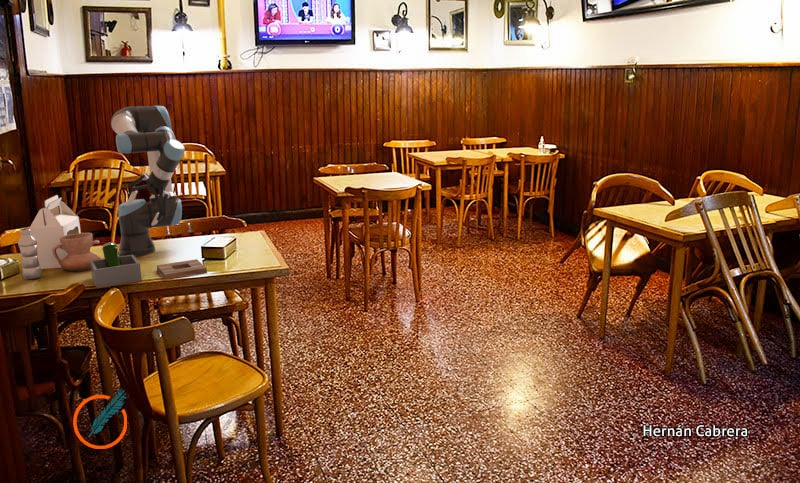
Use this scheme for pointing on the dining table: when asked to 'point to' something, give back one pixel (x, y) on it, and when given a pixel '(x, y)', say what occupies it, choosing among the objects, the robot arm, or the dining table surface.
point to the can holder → (181, 269)
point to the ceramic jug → (76, 251)
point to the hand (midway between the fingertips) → (141, 213)
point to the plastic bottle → (29, 254)
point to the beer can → (111, 254)
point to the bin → (116, 272)
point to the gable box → (53, 230)
